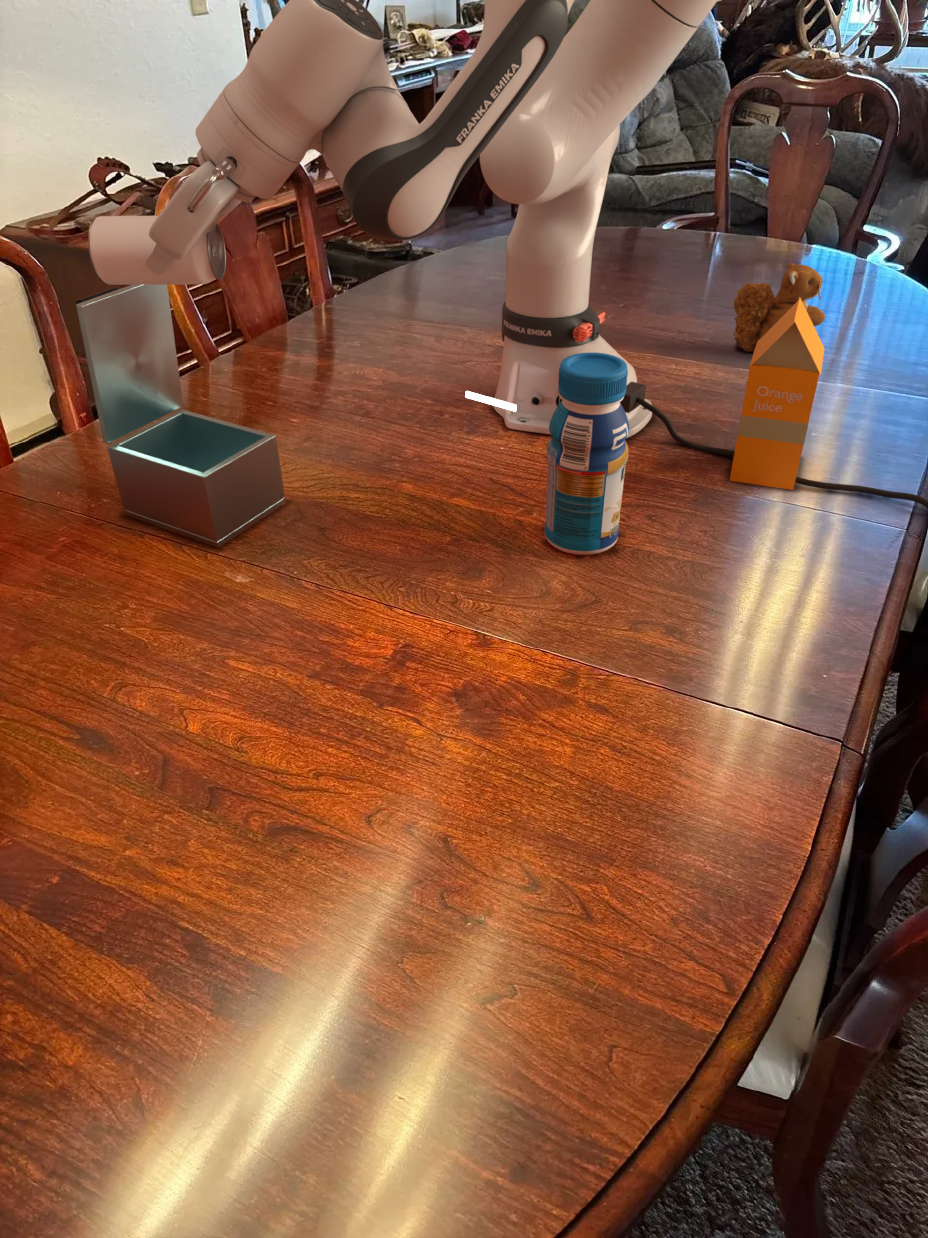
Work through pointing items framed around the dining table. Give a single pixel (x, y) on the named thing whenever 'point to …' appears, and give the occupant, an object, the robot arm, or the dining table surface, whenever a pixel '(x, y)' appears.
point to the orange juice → (778, 402)
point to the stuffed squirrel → (774, 304)
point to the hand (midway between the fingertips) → (165, 257)
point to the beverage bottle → (587, 454)
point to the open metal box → (198, 476)
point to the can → (128, 245)
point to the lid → (130, 356)
